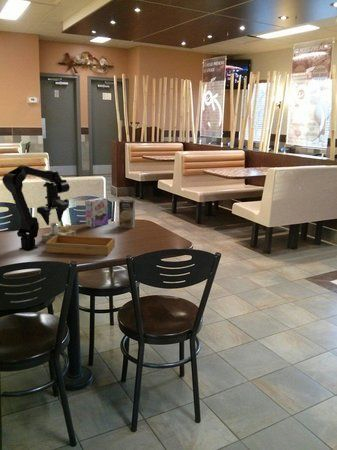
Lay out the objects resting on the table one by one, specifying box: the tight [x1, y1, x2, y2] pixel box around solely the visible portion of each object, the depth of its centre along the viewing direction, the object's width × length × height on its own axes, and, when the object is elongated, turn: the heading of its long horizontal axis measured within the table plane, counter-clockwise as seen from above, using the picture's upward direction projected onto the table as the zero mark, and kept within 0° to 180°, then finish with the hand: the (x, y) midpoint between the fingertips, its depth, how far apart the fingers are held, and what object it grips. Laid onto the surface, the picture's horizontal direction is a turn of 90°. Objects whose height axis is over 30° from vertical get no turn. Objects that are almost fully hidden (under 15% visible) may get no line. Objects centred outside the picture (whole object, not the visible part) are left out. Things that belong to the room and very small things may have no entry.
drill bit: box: [49, 222, 59, 236], centre depth 218 cm, size 4×4×9 cm
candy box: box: [84, 197, 109, 229], centre depth 250 cm, size 14×6×16 cm, turn 143°
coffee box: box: [118, 199, 136, 229], centre depth 247 cm, size 9×6×16 cm
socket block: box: [41, 228, 77, 242], centre depth 222 cm, size 16×10×3 cm, turn 154°
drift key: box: [60, 226, 71, 232], centre depth 226 cm, size 2×5×5 cm, turn 64°
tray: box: [45, 235, 116, 257], centre depth 203 cm, size 31×15×6 cm, turn 84°
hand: (53, 223), depth 217 cm, fingers open, 9 cm apart
